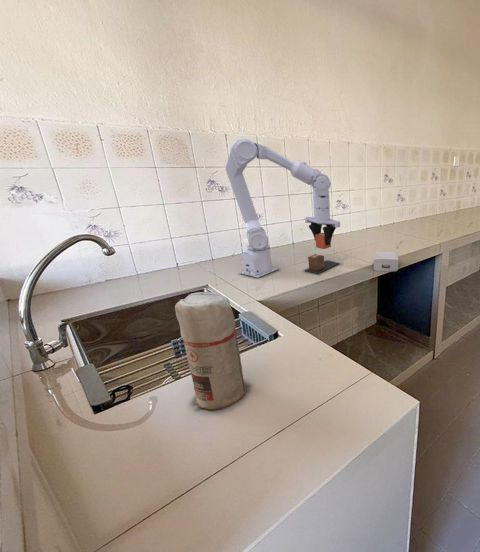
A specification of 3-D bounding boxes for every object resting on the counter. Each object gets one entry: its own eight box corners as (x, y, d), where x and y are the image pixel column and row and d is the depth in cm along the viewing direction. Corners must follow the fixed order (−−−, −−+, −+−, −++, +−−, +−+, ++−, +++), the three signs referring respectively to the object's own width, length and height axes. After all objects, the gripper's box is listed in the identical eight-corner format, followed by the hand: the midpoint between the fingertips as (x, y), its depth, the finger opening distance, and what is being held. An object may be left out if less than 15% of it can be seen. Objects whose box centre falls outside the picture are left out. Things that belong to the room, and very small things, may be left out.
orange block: (324, 249, 124) (323, 235, 123) (315, 247, 126) (315, 234, 124) (331, 246, 128) (331, 233, 126) (323, 244, 130) (322, 231, 128)
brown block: (317, 271, 121) (317, 258, 119) (309, 269, 122) (308, 256, 120) (324, 268, 124) (324, 255, 122) (315, 266, 125) (315, 253, 124)
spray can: (189, 393, 61) (166, 294, 54) (236, 374, 67) (220, 282, 60) (204, 419, 56) (180, 313, 49) (253, 396, 61) (238, 298, 54)
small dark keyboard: (318, 274, 119) (318, 273, 119) (305, 271, 122) (304, 270, 122) (339, 264, 130) (339, 263, 130) (326, 261, 133) (326, 260, 133)
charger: (397, 258, 139) (398, 271, 125) (375, 258, 139) (373, 270, 125) (397, 248, 137) (398, 259, 123) (375, 247, 137) (373, 258, 123)
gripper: (344, 208, 122) (345, 243, 127) (312, 204, 127) (314, 238, 132) (333, 211, 116) (334, 248, 121) (300, 206, 121) (302, 242, 126)
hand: (323, 243), depth 126 cm, fingers closed on orange block, 4 cm apart
